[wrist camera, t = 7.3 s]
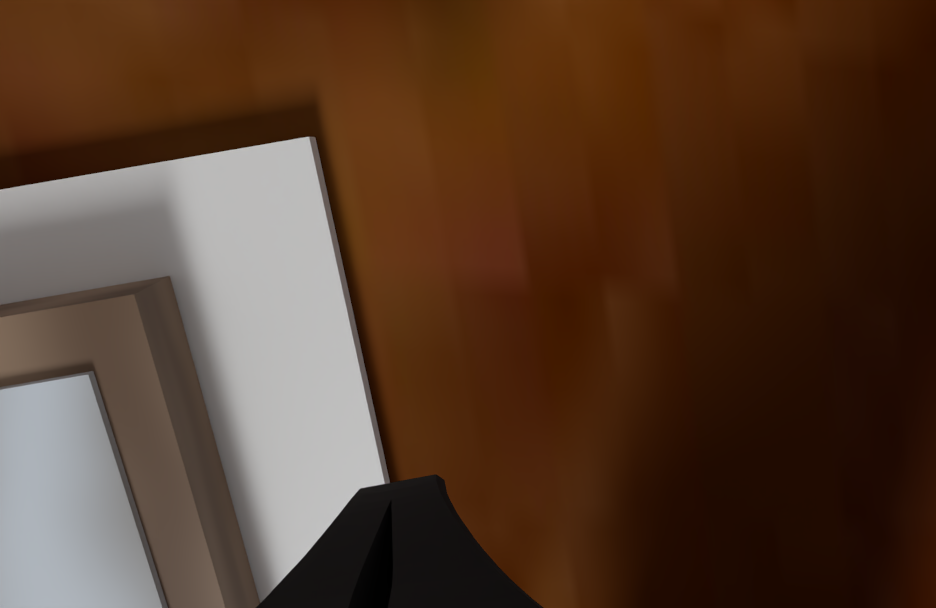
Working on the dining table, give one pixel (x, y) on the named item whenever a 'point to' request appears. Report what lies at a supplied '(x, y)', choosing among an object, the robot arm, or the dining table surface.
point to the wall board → (229, 318)
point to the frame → (111, 459)
